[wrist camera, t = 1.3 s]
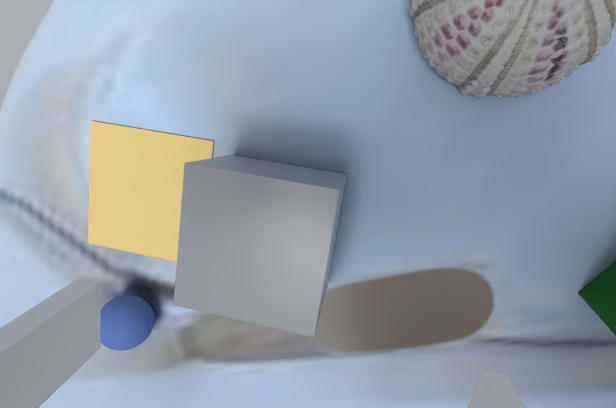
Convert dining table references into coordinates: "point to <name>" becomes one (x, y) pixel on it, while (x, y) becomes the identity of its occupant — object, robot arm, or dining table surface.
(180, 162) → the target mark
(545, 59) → the sea urchin shell
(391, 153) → the dining table surface
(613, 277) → the milk carton
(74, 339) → the robot arm
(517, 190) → the dining table surface
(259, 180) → the grey cube
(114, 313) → the ball
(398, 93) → the dining table surface
